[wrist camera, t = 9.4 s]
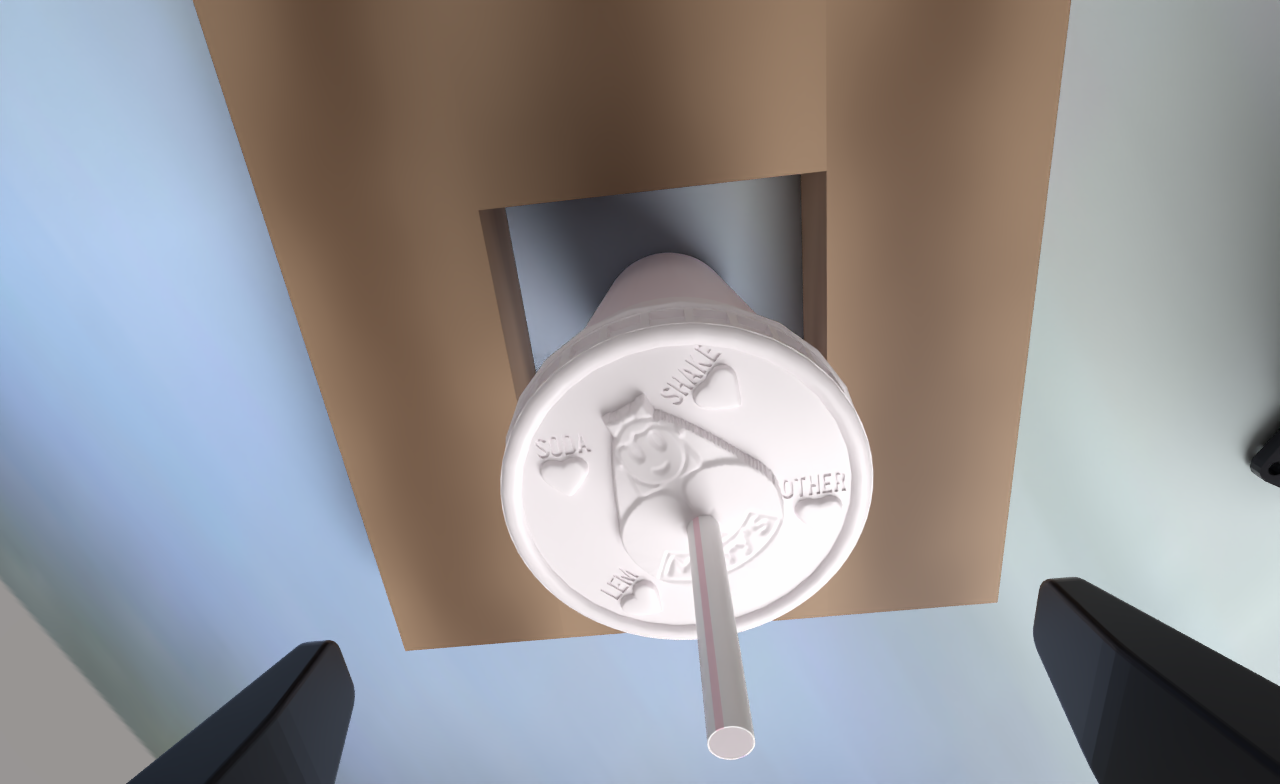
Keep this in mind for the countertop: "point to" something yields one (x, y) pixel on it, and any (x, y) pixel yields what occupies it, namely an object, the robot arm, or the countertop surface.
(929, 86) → the hole board
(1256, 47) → the countertop surface
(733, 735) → the smoothie
